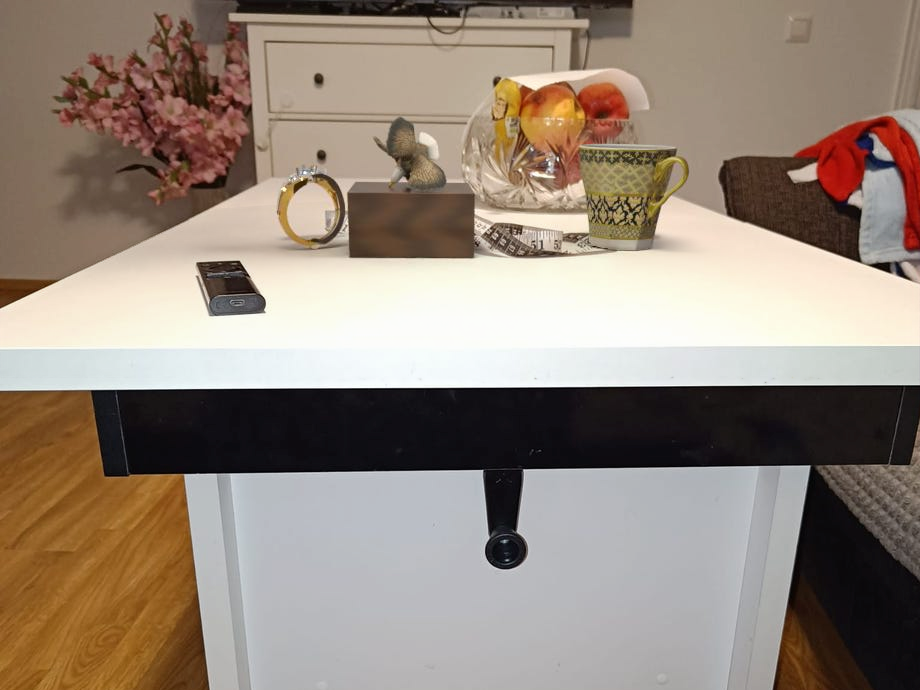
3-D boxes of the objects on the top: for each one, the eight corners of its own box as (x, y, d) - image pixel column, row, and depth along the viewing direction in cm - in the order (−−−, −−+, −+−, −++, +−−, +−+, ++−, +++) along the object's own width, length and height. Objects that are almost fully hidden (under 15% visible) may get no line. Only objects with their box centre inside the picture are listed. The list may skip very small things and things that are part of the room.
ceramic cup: (554, 243, 100) (558, 144, 96) (617, 236, 105) (624, 143, 102) (647, 260, 90) (655, 151, 87) (710, 251, 96) (721, 149, 93)
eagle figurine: (354, 171, 95) (368, 160, 86) (388, 110, 95) (406, 92, 86) (417, 213, 97) (437, 205, 89) (450, 153, 97) (474, 139, 89)
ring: (340, 244, 97) (336, 163, 94) (351, 248, 94) (348, 165, 91) (275, 248, 94) (269, 164, 91) (285, 252, 91) (279, 166, 88)
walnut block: (349, 257, 89) (347, 192, 87) (357, 239, 100) (355, 181, 98) (474, 257, 90) (474, 193, 88) (468, 240, 101) (468, 182, 99)
